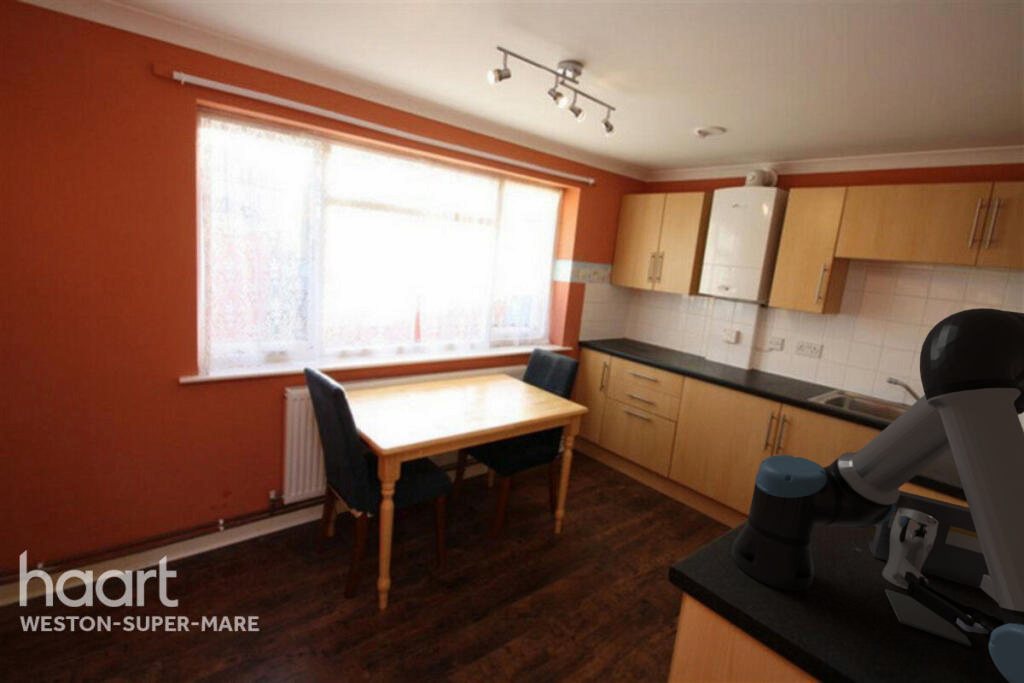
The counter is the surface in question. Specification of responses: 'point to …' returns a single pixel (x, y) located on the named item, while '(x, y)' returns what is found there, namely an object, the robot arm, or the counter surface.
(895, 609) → the rubber mat
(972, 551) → the label panel
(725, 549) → the counter surface
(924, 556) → the beer glass
